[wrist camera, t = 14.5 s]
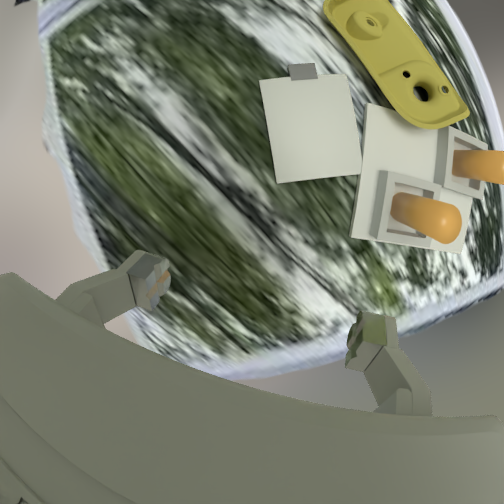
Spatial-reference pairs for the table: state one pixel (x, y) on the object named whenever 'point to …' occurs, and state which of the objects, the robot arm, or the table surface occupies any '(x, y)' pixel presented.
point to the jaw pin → (427, 216)
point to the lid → (311, 125)
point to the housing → (417, 175)
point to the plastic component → (396, 61)
